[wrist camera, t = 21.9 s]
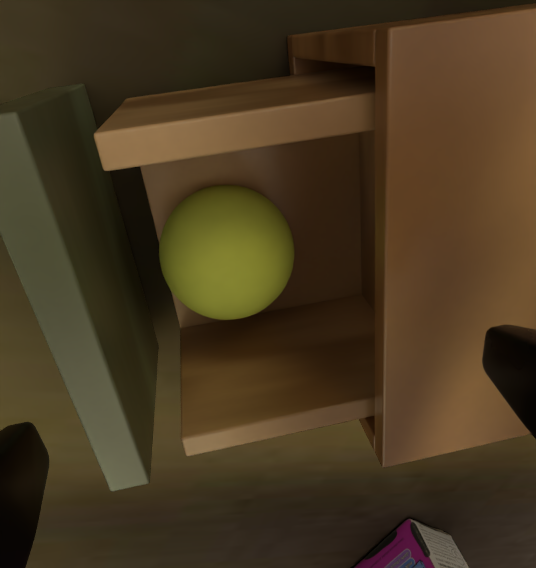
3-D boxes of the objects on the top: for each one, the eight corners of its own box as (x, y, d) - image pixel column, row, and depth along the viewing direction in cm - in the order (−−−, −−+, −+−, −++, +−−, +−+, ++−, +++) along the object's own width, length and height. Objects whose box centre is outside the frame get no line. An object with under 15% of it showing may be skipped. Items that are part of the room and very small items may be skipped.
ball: (206, 298, 18) (201, 368, 14) (142, 206, 16) (117, 258, 12) (305, 249, 18) (327, 308, 14) (251, 146, 16) (260, 181, 12)
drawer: (103, 356, 20) (69, 502, 13) (8, 93, 15) (-119, 129, 8) (369, 305, 21) (451, 416, 15) (368, 44, 16) (493, 45, 10)
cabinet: (309, 317, 22) (382, 469, 14) (286, 35, 16) (388, 27, 8) (538, 273, 23) (723, 390, 15) (593, -5, 17) (935, -45, 9)
